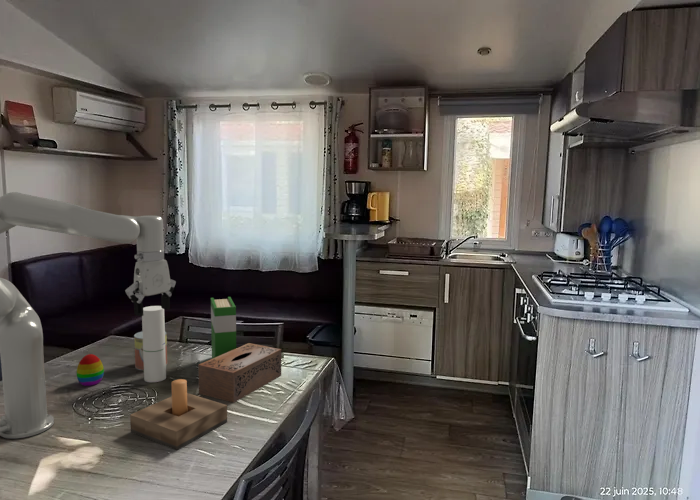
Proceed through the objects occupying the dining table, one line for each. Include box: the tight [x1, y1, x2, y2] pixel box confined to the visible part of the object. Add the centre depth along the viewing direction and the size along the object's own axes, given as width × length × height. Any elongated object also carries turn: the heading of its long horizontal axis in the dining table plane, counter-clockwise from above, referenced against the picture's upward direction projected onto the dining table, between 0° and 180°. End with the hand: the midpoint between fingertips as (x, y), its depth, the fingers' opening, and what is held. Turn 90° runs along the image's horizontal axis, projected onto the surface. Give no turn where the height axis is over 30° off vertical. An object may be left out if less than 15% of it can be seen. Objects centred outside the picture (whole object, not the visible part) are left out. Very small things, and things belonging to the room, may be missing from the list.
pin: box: [170, 378, 188, 417], centre depth 136 cm, size 4×4×12 cm
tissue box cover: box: [197, 342, 282, 404], centre depth 166 cm, size 26×14×10 cm, turn 153°
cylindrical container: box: [141, 305, 167, 383], centre depth 169 cm, size 7×7×25 cm
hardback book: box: [210, 296, 237, 359], centre depth 184 cm, size 18×7×24 cm, turn 20°
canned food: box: [133, 330, 168, 371], centre depth 183 cm, size 11×11×12 cm
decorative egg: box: [76, 353, 105, 387], centre depth 165 cm, size 8×8×10 cm
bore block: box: [129, 392, 228, 451], centre depth 136 cm, size 18×18×5 cm
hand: (152, 312), depth 150 cm, fingers open, 9 cm apart
